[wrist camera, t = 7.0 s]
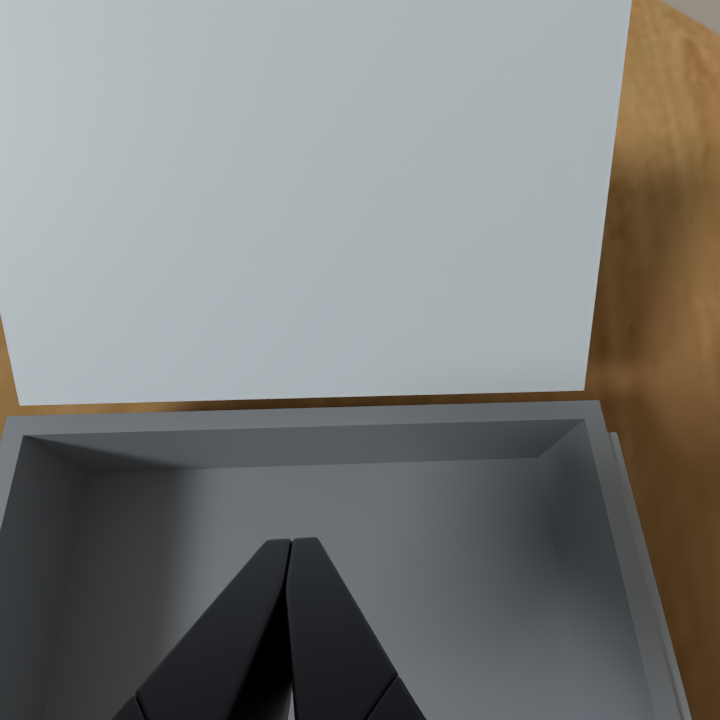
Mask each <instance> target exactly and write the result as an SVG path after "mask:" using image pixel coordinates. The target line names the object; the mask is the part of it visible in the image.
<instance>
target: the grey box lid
mask: <svg viewBox="0 0 720 720" xmlns="http://www.w3.org/2000/svg"><path fill="white" fill-rule="evenodd" d="M631 3H632V0H0V314H1V319H2V323H3V328H4V333H5V338H6V343H7V347H8V352H9V357H10V362H11V367H12V371H13V376H14V381H15V386H16V391H17V396H18V400H19V405H58V404H96V403H133V402H171V401H209V400H247V399H284V398H322V397H360V396H397V395H435V394H473V393H511V392H548V391H584V386H585V378H586V370H587V362H588V354H589V345H590V337H591V329H592V321H593V313H594V305H595V296H596V288H597V280H598V272H599V264H600V256H601V247H602V239H603V231H604V223H605V215H606V207H607V199H608V190H609V182H610V174H611V166H612V158H613V150H614V141H615V133H616V125H617V117H618V109H619V101H620V92H621V84H622V76H623V68H624V60H625V52H626V43H627V35H628V27H629V19H630V11H631Z"/></svg>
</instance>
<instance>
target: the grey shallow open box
mask: <svg viewBox="0 0 720 720" xmlns="http://www.w3.org/2000/svg"><path fill="white" fill-rule="evenodd" d="M304 537H317V538H318V539H319V540H320V542H321V544H322V546H323V547H324V549H325V551H326V552H327V554H328V556H329V557H330V559H331V561H332V563H333V564H334V566H335V568H336V569H337V571H338V573H339V574H340V576H341V578H342V579H343V581H344V583H345V585H346V586H347V588H348V590H349V591H350V593H351V595H352V596H353V598H354V600H355V601H356V603H357V605H358V607H359V608H360V610H361V612H362V613H363V615H364V617H365V618H366V620H367V622H368V624H369V625H370V627H371V629H372V630H373V632H374V634H375V635H376V637H377V639H378V640H379V642H380V644H381V646H382V647H383V649H384V651H385V652H386V654H387V656H388V657H389V659H390V661H391V662H392V664H393V666H394V668H395V669H396V671H397V673H398V677H400V678H401V679H402V681H403V682H404V684H405V686H406V687H407V689H408V691H409V692H410V694H411V696H412V698H413V699H414V701H415V702H416V704H417V705H418V707H419V709H420V710H421V712H422V713H423V715H424V716H425V718H426V719H427V720H692V718H691V714H690V710H689V706H688V703H687V699H686V695H685V691H684V687H683V683H682V680H681V676H680V672H679V668H678V664H677V661H676V657H675V653H674V649H673V645H672V641H671V638H670V634H669V630H668V626H667V622H666V619H665V615H664V611H663V607H662V603H661V599H660V596H659V592H658V588H657V584H656V580H655V577H654V573H653V569H652V565H651V561H650V557H649V554H648V550H647V546H646V542H645V538H644V535H643V531H642V527H641V523H640V519H639V516H638V512H637V508H636V504H635V500H634V496H633V493H632V489H631V485H630V481H629V477H628V474H627V470H626V466H625V462H624V458H623V454H622V451H621V447H620V443H619V439H618V435H617V432H607V429H606V425H605V421H604V417H603V413H602V409H601V405H600V401H599V400H582V401H546V402H509V403H473V404H436V405H400V406H363V407H327V408H290V409H254V410H218V411H181V412H145V413H108V414H72V415H35V416H7V418H6V422H5V426H4V430H3V434H2V438H1V441H0V720H111V719H112V718H113V717H114V716H115V715H116V714H117V712H118V711H119V710H120V709H121V708H122V707H123V705H124V704H125V703H126V702H127V701H128V700H129V698H130V697H132V696H135V692H136V691H137V689H138V688H139V687H140V686H141V685H142V684H143V683H144V681H145V680H146V679H147V678H148V677H149V676H150V674H151V673H152V672H153V671H154V670H155V669H156V667H157V666H158V665H159V664H160V663H161V662H162V661H163V659H164V658H165V657H166V656H167V655H168V654H169V652H170V651H171V650H172V649H173V648H174V647H175V645H176V644H177V643H178V642H179V641H180V640H181V638H182V637H183V636H184V635H185V634H186V633H187V632H188V630H189V629H190V628H191V627H192V626H193V625H194V623H195V622H196V621H197V620H198V619H199V618H200V616H201V615H202V614H203V613H204V612H205V611H206V609H207V608H208V607H209V606H210V605H211V604H212V603H213V601H214V600H215V599H216V598H217V597H218V596H219V594H220V593H221V592H222V591H223V590H224V589H225V587H226V586H227V585H228V584H229V583H230V582H231V581H232V579H233V578H234V577H235V576H236V575H237V574H238V572H239V571H240V570H241V569H242V568H243V567H244V565H245V564H246V563H247V562H248V561H249V560H250V558H251V557H252V556H253V555H254V554H255V553H256V552H257V550H258V549H259V548H260V547H261V546H262V545H263V543H264V542H265V541H267V540H270V539H290V540H291V541H293V540H294V539H295V538H304ZM288 720H295V717H294V705H293V692H292V695H291V703H290V710H289V717H288Z"/></svg>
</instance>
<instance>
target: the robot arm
mask: <svg viewBox="0 0 720 720" xmlns="http://www.w3.org/2000/svg"><path fill="white" fill-rule="evenodd" d="M292 692H293V705H294V717H295V720H427V719H426V718H425V716H424V715H423V713H422V712H421V710H420V709H419V707H418V705H417V704H416V702H415V701H414V699H413V698H412V696H411V694H410V692H409V691H408V689H407V687H406V686H405V684H404V682H403V681H402V679H401V678H400V677H398V673H397V671H396V669H395V668H394V666H393V664H392V662H391V661H390V659H389V657H388V656H387V654H386V652H385V651H384V649H383V647H382V646H381V644H380V642H379V640H378V639H377V637H376V635H375V634H374V632H373V630H372V629H371V627H370V625H369V624H368V622H367V620H366V618H365V617H364V615H363V613H362V612H361V610H360V608H359V607H358V605H357V603H356V601H355V600H354V598H353V596H352V595H351V593H350V591H349V590H348V588H347V586H346V585H345V583H344V581H343V579H342V578H341V576H340V574H339V573H338V571H337V569H336V568H335V566H334V564H333V563H332V561H331V559H330V557H329V556H328V554H327V552H326V551H325V549H324V547H323V546H322V544H321V542H320V540H319V539H318V538H317V537H304V538H295V539H294V540H293V541H291V540H290V539H270V540H267V541H265V542H264V543H263V545H262V546H261V547H260V548H259V549H258V550H257V552H256V553H255V554H254V555H253V556H252V557H251V558H250V560H249V561H248V562H247V563H246V564H245V565H244V567H243V568H242V569H241V570H240V571H239V572H238V574H237V575H236V576H235V577H234V578H233V579H232V581H231V582H230V583H229V584H228V585H227V586H226V587H225V589H224V590H223V591H222V592H221V593H220V594H219V596H218V597H217V598H216V599H215V600H214V601H213V603H212V604H211V605H210V606H209V607H208V608H207V609H206V611H205V612H204V613H203V614H202V615H201V616H200V618H199V619H198V620H197V621H196V622H195V623H194V625H193V626H192V627H191V628H190V629H189V630H188V632H187V633H186V634H185V635H184V636H183V637H182V638H181V640H180V641H179V642H178V643H177V644H176V645H175V647H174V648H173V649H172V650H171V651H170V652H169V654H168V655H167V656H166V657H165V658H164V659H163V661H162V662H161V663H160V664H159V665H158V666H157V667H156V669H155V670H154V671H153V672H152V673H151V674H150V676H149V677H148V678H147V679H146V680H145V681H144V683H143V684H142V685H141V686H140V687H139V688H138V689H137V691H136V692H135V696H132V697H130V698H129V700H128V701H127V702H126V703H125V704H124V705H123V707H122V708H121V709H120V710H119V711H118V712H117V714H116V715H115V716H114V717H113V718H112V719H111V720H288V717H289V710H290V703H291V695H292Z"/></svg>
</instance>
